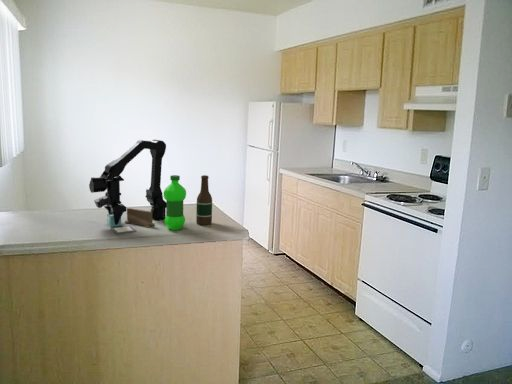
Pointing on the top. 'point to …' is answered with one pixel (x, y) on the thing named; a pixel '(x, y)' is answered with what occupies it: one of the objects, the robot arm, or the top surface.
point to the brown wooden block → (139, 217)
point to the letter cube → (112, 221)
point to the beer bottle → (204, 204)
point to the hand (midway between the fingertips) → (114, 222)
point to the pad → (123, 229)
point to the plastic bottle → (174, 204)
